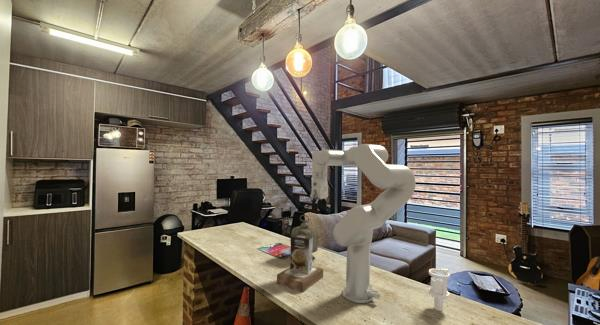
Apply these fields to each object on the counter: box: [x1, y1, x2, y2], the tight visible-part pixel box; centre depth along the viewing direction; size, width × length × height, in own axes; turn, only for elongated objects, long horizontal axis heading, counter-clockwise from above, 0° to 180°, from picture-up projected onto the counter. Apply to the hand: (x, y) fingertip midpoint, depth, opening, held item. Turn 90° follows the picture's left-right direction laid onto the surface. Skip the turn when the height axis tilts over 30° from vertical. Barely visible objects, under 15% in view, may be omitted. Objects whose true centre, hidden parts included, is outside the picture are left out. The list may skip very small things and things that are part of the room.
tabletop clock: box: [289, 214, 319, 260], centre depth 148 cm, size 14×9×25 cm, turn 50°
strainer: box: [428, 268, 451, 312], centre depth 98 cm, size 7×7×15 cm
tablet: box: [256, 242, 291, 260], centre depth 161 cm, size 19×25×1 cm
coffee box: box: [289, 234, 313, 274], centre depth 120 cm, size 9×6×16 cm
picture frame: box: [276, 265, 324, 293], centre depth 120 cm, size 14×18×5 cm
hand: (319, 210), depth 127 cm, fingers open, 9 cm apart
